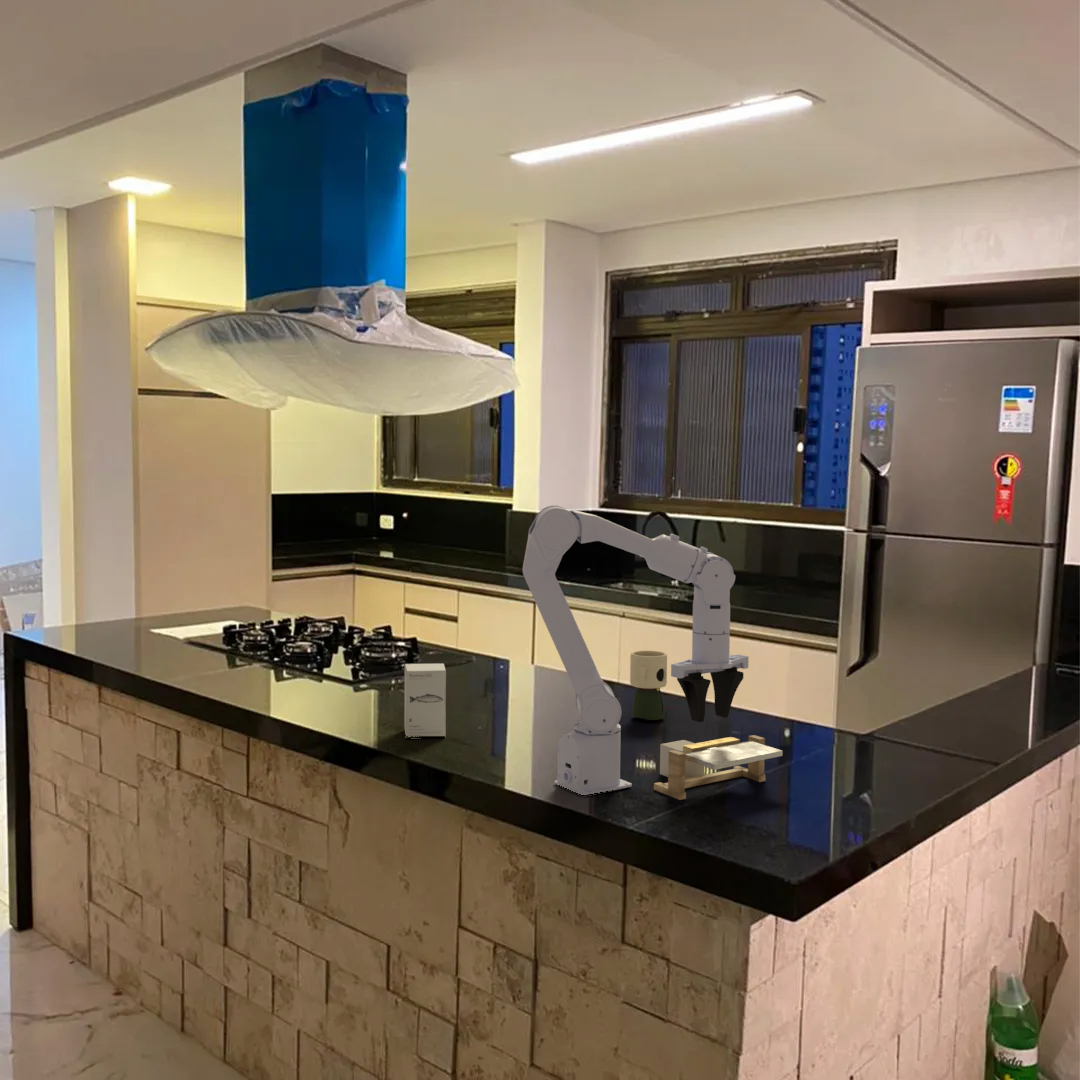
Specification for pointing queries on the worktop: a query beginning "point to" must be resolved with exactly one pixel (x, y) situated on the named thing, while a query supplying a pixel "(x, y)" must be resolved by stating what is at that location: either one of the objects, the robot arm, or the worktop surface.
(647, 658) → the character mug
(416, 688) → the supplement box
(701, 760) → the trapdoor
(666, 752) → the stone block
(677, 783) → the frame
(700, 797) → the worktop surface
